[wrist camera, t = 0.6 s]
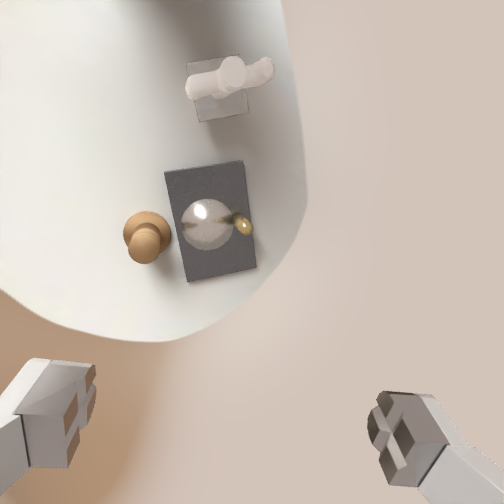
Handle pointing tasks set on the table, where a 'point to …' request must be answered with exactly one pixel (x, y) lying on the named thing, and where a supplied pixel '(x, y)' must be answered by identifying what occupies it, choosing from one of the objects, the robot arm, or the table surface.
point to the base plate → (211, 219)
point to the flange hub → (146, 236)
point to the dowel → (242, 224)
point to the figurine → (224, 84)
